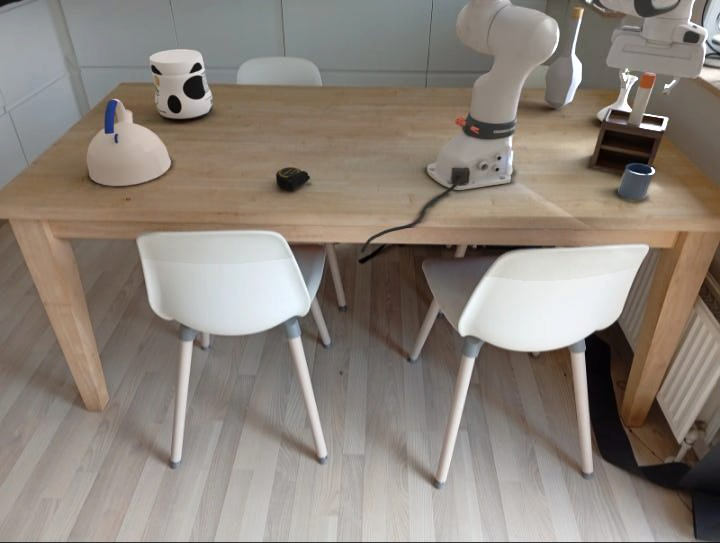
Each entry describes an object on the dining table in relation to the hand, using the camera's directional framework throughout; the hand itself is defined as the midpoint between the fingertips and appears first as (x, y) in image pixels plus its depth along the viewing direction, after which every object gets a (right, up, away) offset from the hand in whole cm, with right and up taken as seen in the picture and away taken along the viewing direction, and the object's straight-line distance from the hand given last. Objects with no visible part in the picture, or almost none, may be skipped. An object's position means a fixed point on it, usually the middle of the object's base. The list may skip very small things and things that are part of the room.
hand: (644, 90), depth 129 cm
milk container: (-124, +7, +43) cm, 131 cm away
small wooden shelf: (0, -16, +12) cm, 20 cm away
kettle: (-128, -17, +12) cm, 130 cm away
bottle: (-4, +10, +46) cm, 48 cm away
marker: (0, -6, +5) cm, 8 cm away
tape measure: (-85, -22, +4) cm, 88 cm away
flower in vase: (+11, +3, +37) cm, 39 cm away
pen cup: (-3, -25, 0) cm, 25 cm away
